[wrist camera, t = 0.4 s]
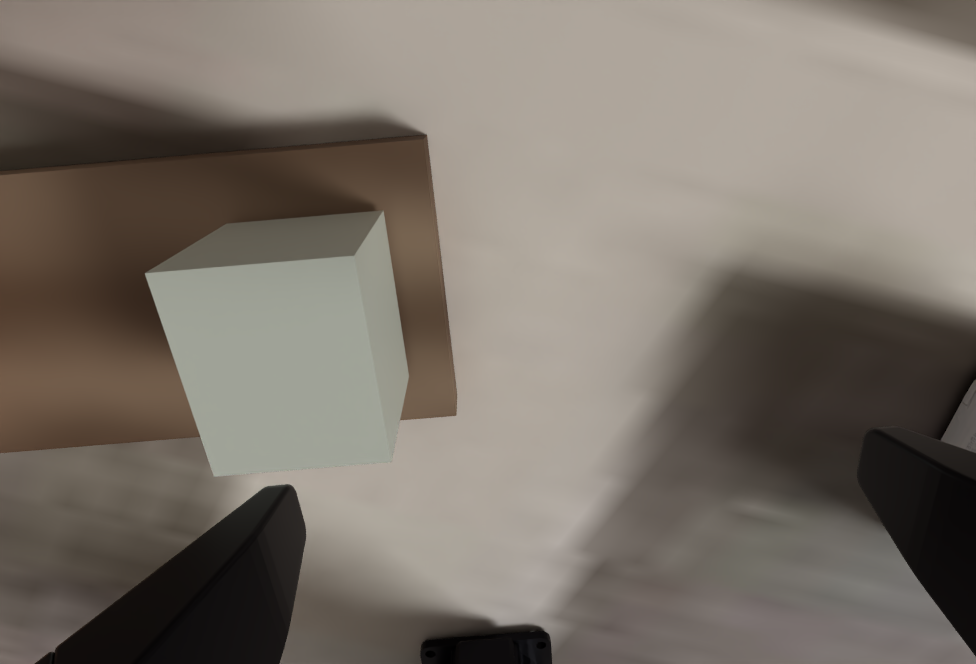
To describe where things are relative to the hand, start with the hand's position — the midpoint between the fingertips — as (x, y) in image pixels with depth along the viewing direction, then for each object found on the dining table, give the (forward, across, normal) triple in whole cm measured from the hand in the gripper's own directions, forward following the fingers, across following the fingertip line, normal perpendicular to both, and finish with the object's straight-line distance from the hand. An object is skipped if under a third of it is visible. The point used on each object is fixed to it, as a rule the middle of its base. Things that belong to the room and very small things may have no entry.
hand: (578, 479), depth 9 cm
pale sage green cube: (+11, +7, 0) cm, 13 cm away
